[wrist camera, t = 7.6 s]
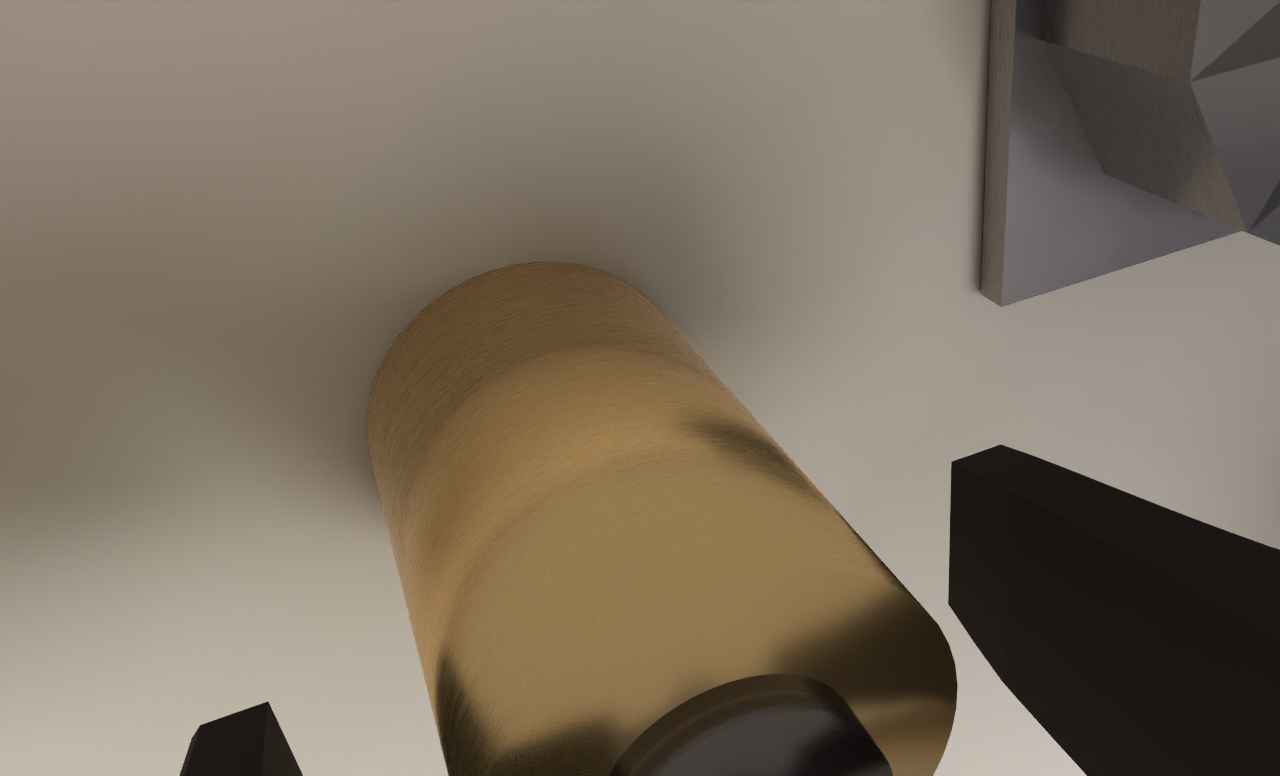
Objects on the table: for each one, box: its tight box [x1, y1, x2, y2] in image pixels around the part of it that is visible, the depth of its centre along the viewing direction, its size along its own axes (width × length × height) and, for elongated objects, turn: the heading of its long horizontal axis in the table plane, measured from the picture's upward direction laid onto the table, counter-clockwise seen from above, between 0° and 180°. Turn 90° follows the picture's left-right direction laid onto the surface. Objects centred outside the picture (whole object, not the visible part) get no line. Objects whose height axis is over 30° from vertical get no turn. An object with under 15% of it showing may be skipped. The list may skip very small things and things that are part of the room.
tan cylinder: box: [367, 262, 957, 776], centre depth 11 cm, size 4×4×7 cm
